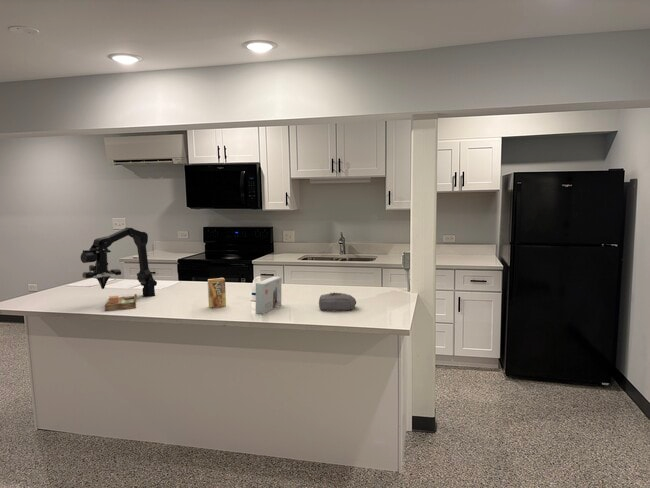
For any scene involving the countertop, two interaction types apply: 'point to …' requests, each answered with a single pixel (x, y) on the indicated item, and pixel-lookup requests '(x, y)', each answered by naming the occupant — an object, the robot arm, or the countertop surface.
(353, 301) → the small grey backpack
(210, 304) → the candy box
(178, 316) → the countertop surface
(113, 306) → the trap board
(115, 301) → the block
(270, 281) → the skincare box
